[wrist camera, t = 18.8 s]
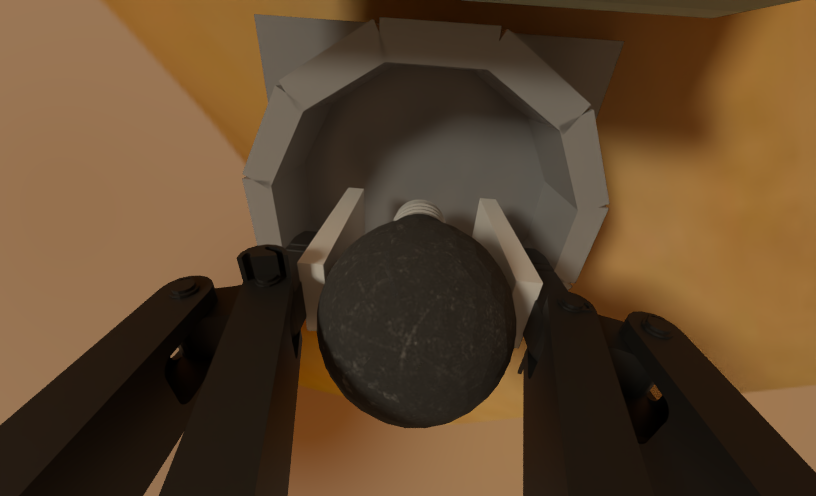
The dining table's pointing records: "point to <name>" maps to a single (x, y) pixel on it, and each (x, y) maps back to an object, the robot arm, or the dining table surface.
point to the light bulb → (416, 320)
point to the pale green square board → (656, 6)
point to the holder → (431, 128)
